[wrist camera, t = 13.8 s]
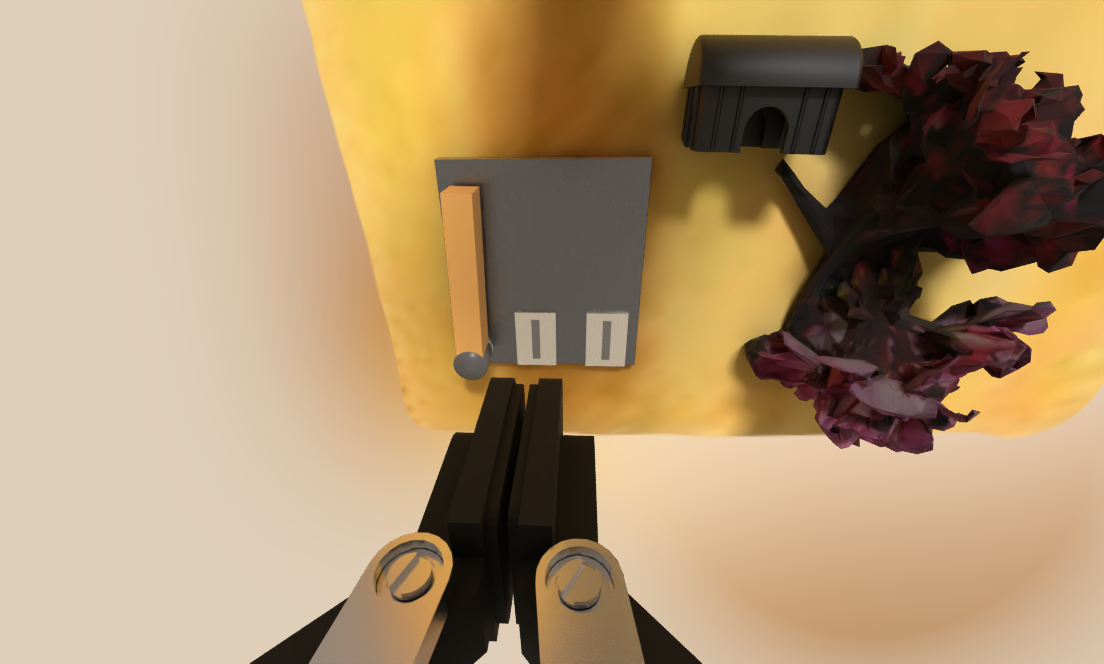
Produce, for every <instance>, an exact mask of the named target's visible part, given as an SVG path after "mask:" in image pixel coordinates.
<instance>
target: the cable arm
mask: <svg viewBox="0 0 1104 664" xmlns="http://www.w3.org/2000/svg"><path fill="white" fill-rule="evenodd" d="M440 198H441V208H442V218H443V228H444V238H445V248H446V258H447V268H448V278H449V288H450V298H451V308H452V318H453V328H454V338H455V348H456V357H455V360H454V369H455V371H456V372H457V373H458V374H459V375H460V376H461V377H463V378H465V379H468V380H476V379H479V378H481V377H483V376H484V375H485V373H486V371H487V368H488V365H489V362H490V359H491V356H492V346H491V345H490V343H489V342H488V325H487V308H486V291H485V274H484V257H483V239H482V222H481V205H480V188H479V187H475V186H449V187H448V188H446V189H445V190H444V191H442V192H441V193H440Z"/></svg>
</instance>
